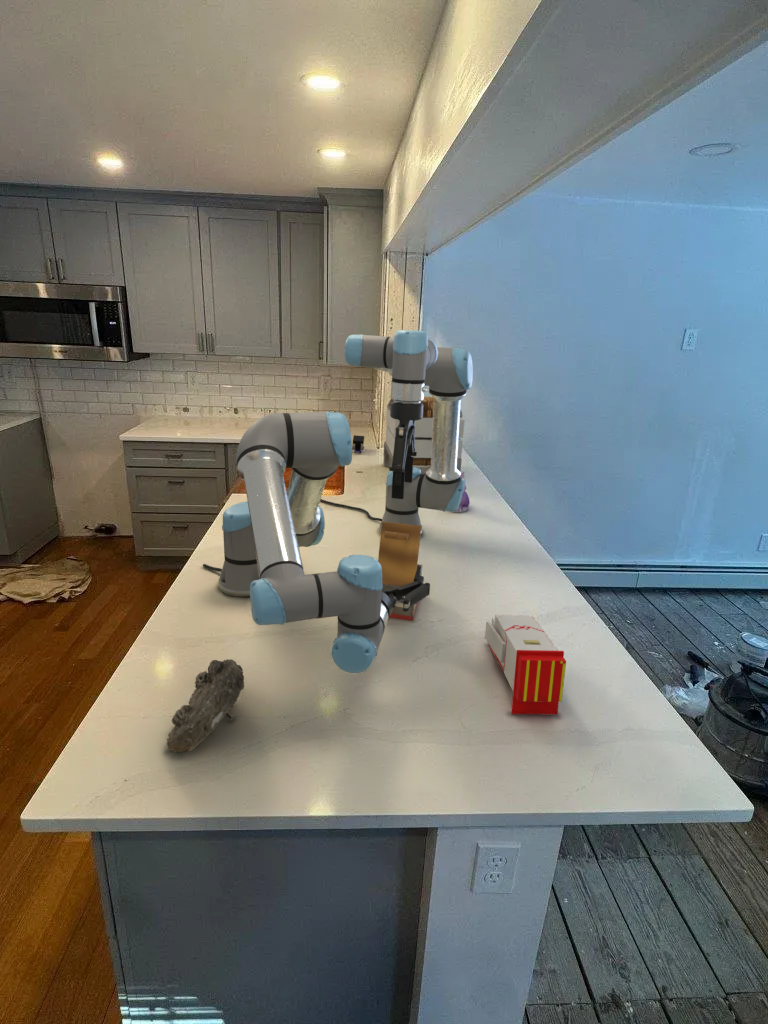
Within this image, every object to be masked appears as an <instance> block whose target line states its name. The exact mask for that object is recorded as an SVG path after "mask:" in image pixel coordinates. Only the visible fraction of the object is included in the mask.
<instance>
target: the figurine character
mask: <svg viewBox="0 0 768 1024" xmlns="http://www.w3.org/2000/svg"><path fill="white" fill-rule="evenodd" d="M364 443H365V435H353V437H352V451H354V454H357V453H359V454H362V451H364V449H365V446H364Z"/></svg>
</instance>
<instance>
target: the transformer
mask: <svg viewBox="0 0 768 1024" xmlns="http://www.w3.org/2000/svg"><path fill="white" fill-rule="evenodd" d="M392 401H393V400H392V399H391V398H390V400H389V402H388V404H387V405H386V413H385V414H386V415H385V423H386V428H385V438H384V442H383V466H384V467H388V468H390V467H392V461H393V453H394V445H395V436H396V427H398V425H399V420H398V419H393V418H391V416H390V408H391V402H392ZM433 401H434V398H433V397H432V396H424V399H423V400H422V401H421V402H422V403H423V417H422V419H420V420H416V421H415V452H417V455H416V456H412V457H414V458H413V467H417V466H418V467H431V448H432V424H433ZM464 429H465V419H464V418H463V411H462V408H460V423H459V439H458V454H457V469H458V470H459V471H460V472H461V473H462V461H463V460H462V453H463V442H464V441H463V440H462V439H463V438H464V431H465V430H464ZM396 466H401V465H396Z"/></svg>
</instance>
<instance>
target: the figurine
mask: <svg viewBox="0 0 768 1024" xmlns="http://www.w3.org/2000/svg"><path fill="white" fill-rule="evenodd" d="M461 478H463V479H465V472H464V471H462V472H461ZM466 490H467V485H466V484H465V486H464V490H463V494H462V498H461V502H460V505H459V507H458V509H457V510H456V511H454V512H453V513H463V512H464V513H465V512H466V511H467V510H469V505H470V497H469V495H468V493H467V491H466Z"/></svg>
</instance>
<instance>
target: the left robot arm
mask: <svg viewBox="0 0 768 1024" xmlns="http://www.w3.org/2000/svg"><path fill="white" fill-rule="evenodd" d="M352 445H353V439H352V433H351V428H350V424H349V420H348V418H347V416H346V415H345V414H344V413H342V412H338V411H337V412H335V411H329V410H327V411H310V412H309V411H307V412H306V411H305V412H304V411H303V412H273V413H269V414H266V415H264V416H262V417H259V418H258V419H257V420H256V421H254V422H253V423H252V424H251V425H250V426H249V427H248V428H247V429H246V430H245V432H244V433H243V435H242V436H241V438H240V441H239V443H238V446H237V450H236V455H235V462H236V469H237V471H236V472H237V474H238V476H239V477H240V479H241V480H242V481H243V482H244V487H245V494H246V500H247V501H242V502H238V503H235V504H233V505H231V506H229V507H227V508H226V509H225V510H224V512H223V514H222V525H221V530H222V534H223V535H222V536H223V556H224V562H223V563H222V567H221V568H219V567H215V566H212V565H208V564H206V563H203V564H202V567H203V568H206V569H208V570H210V571H215V572H220V575H219V578H218V588H219V589H220V591H221V592H222V593H224V594H225V595H228V596H232V597H236V598H237V597H239V598H249V599H250V601H249V602H250V610H251V617H252V620H253V622H254V623H255V624H256V625H257V626H275V625H276V626H278V625H281V626H282V625H285V624H288V623H295V622H302V621H309V620H314V619H315V620H318V619H326V618H333V617H335V618H336V617H337V633H336V637H335V638H334V640H333V643H332V647H331V658H332V661H333V663H334V664H335V666H336V667H337V668H338V669H340V670H341V671H342V672H345V673H347V674H348V673H349V674H355V675H357V674H362V673H364V672H366V671H367V670H369V669H370V668H371V667H372V664H373V662H374V661H375V660H376V657H377V656H378V650H379V647H380V645H381V642H382V640H383V636H384V633H385V630H386V628H387V625H388V622H389V620H390V615H391V612H392V609H393V608H395V607H396V606H398V607H402V608H403V611H405V612H407V611H409V609H410V607H411V606H413V605H414V604H416V603H417V602H418V603H419V602H420V601H422V600H423V599H425V598H427V597H428V596H430V591H431V583H430V582H424V580H425V576H424V575H422V576H421V567H418V568H417V571H416V574H415V577H414V582H412V583H409V584H406V585H403V586H400V587H397V588H396V587H391V588H388V589H383V584H382V567H381V564H380V563H379V562H378V559H376V558H374V557H372V556H370V555H366V554H351V555H348V556H345V557H343V558H341V559H340V561H339V562H338V566H337V570H336V571H327V572H319V573H317V572H316V573H311V574H305V571H304V565H303V560H302V555H301V551H300V548H301V547H304V548H308V547H312V546H316V545H319V544H320V543H321V542H322V540H323V537H324V534H325V528H326V523H325V522H326V521H325V514H324V510H323V508H322V507H321V506H320V502H321V501H320V500H321V499H322V496H323V494H324V490H325V487H326V484H327V481H328V479H330V478H331V477H333V476H334V474H335V473H336V472H337V471H338V468H339V467H342V468H343V467H346V466H349V465H350V464H351V463H352V461H353V450H352ZM287 469H291V472H290V477H289V480H288V481H289V482H288V486H287V487H286V482H285V477H284V474H285V472H286V470H287Z"/></svg>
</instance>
